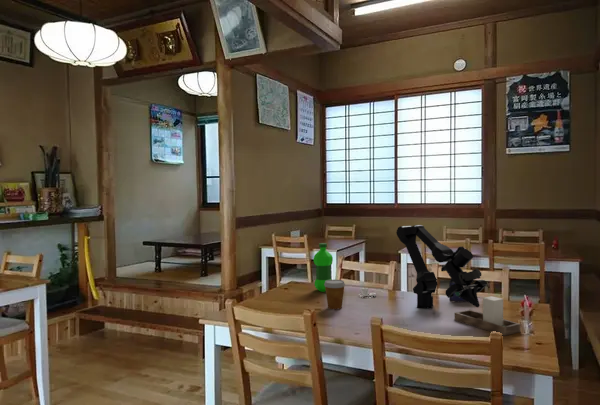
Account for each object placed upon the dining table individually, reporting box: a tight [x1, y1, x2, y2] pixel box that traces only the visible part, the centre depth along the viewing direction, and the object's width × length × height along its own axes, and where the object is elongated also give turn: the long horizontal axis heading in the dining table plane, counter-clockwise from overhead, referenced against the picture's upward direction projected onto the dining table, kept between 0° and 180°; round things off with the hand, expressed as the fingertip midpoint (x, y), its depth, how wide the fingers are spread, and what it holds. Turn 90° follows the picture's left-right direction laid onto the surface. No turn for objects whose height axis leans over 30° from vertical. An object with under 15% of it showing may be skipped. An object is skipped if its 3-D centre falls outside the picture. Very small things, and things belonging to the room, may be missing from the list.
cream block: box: [482, 296, 504, 326], centre depth 169 cm, size 5×5×10 cm
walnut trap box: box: [453, 309, 522, 337], centre depth 172 cm, size 23×9×3 cm, turn 28°
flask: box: [448, 280, 466, 302], centre depth 209 cm, size 10×3×12 cm, turn 87°
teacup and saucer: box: [359, 287, 377, 299], centre depth 222 cm, size 9×8×4 cm
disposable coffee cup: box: [324, 279, 346, 310], centre depth 201 cm, size 10×10×12 cm
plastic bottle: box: [313, 242, 334, 293], centre depth 235 cm, size 10×10×25 cm
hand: (478, 306), depth 175 cm, fingers closed
